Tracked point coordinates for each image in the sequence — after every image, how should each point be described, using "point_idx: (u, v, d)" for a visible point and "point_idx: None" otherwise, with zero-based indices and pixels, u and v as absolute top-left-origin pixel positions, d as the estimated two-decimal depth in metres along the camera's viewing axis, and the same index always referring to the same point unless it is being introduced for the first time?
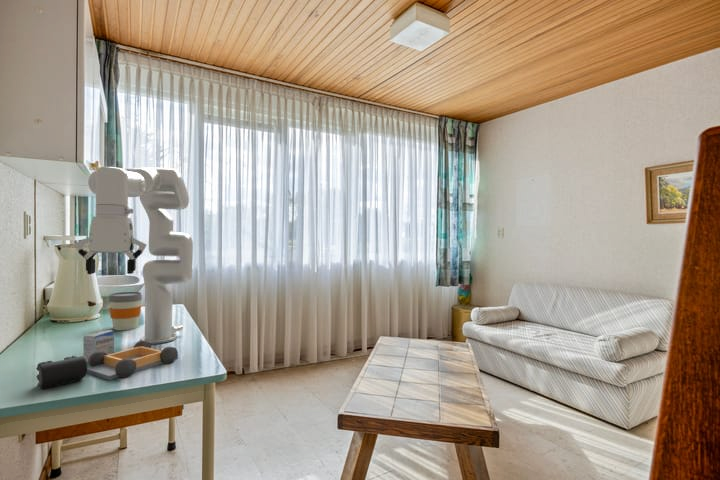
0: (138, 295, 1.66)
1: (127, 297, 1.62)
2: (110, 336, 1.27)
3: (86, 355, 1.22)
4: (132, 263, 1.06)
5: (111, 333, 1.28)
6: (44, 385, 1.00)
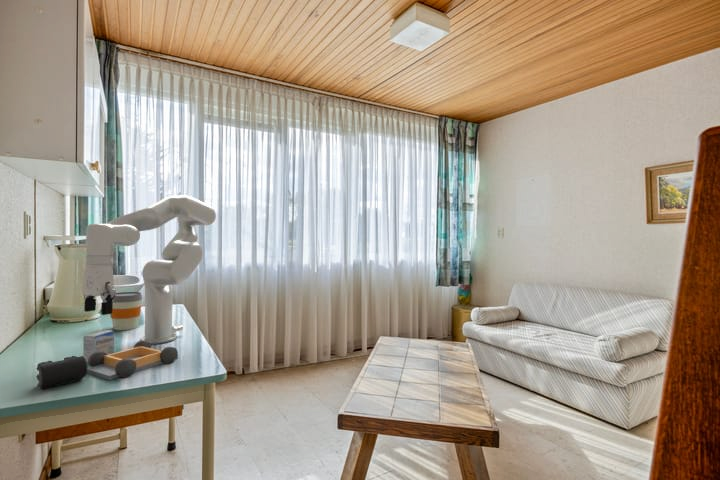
0: (138, 295, 1.66)
1: (127, 297, 1.62)
2: (110, 336, 1.27)
3: (86, 355, 1.22)
4: None
5: (111, 333, 1.28)
6: (44, 385, 1.00)
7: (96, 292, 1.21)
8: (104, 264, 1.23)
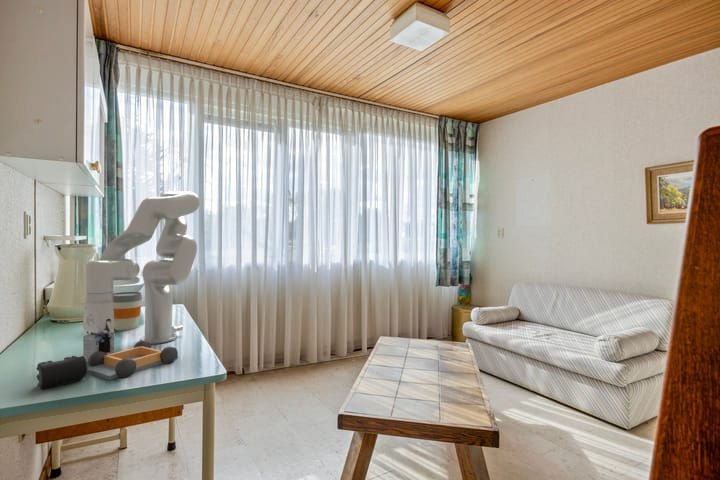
0: (138, 295, 1.66)
1: (127, 297, 1.62)
2: None
3: (86, 355, 1.22)
4: None
5: None
6: (44, 385, 1.00)
7: (97, 330, 1.21)
8: (104, 301, 1.23)
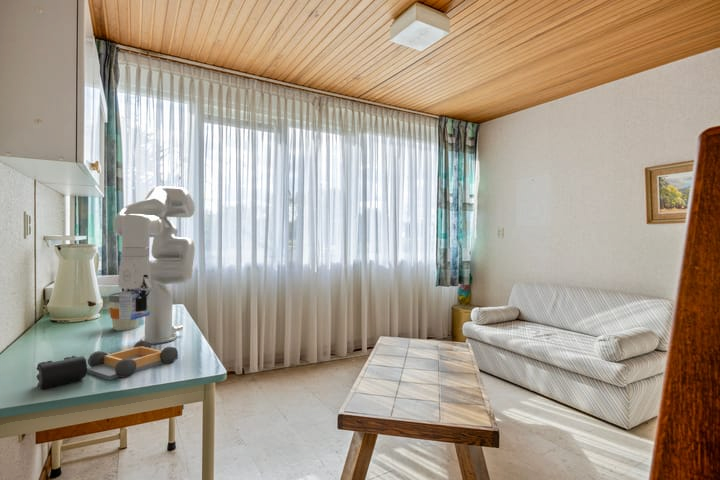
0: None
1: None
2: None
3: (122, 313, 1.16)
4: None
5: None
6: (44, 385, 1.00)
7: (134, 285, 1.16)
8: (141, 256, 1.18)
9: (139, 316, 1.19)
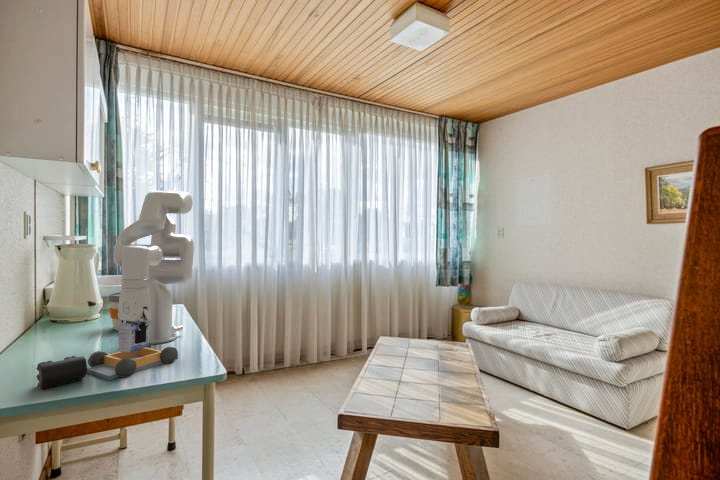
0: None
1: None
2: None
3: (121, 345, 1.16)
4: None
5: None
6: (44, 385, 1.00)
7: (133, 318, 1.16)
8: (141, 288, 1.18)
9: (138, 348, 1.19)
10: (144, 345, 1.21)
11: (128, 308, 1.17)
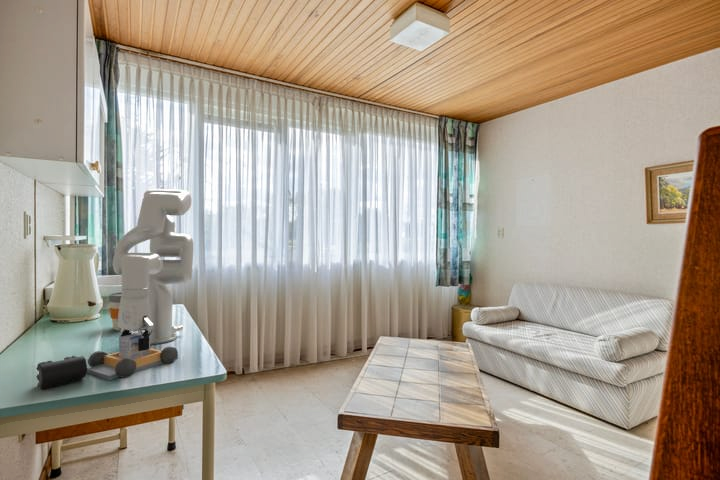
0: None
1: None
2: None
3: (121, 358, 1.17)
4: None
5: None
6: (44, 385, 1.00)
7: (133, 327, 1.16)
8: (141, 297, 1.18)
9: None
10: None
11: (128, 317, 1.17)
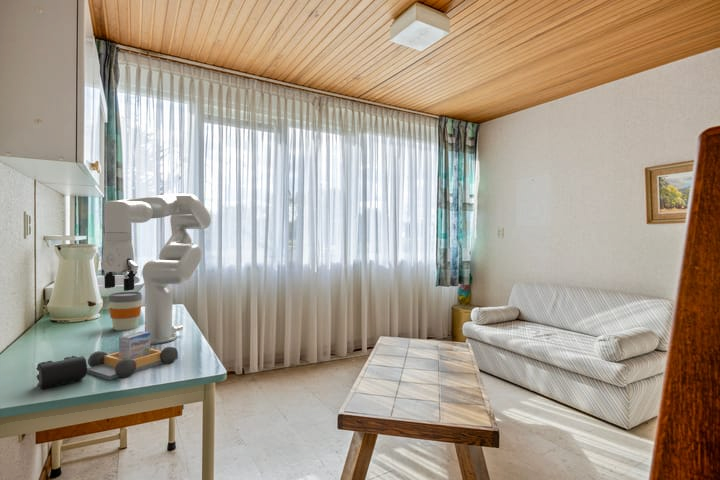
0: (138, 295, 1.66)
1: (127, 297, 1.62)
2: (146, 338, 1.21)
3: (121, 358, 1.17)
4: None
5: (147, 335, 1.22)
6: (44, 385, 1.00)
7: (118, 268, 1.22)
8: (124, 241, 1.23)
9: None
10: None
11: (112, 260, 1.23)
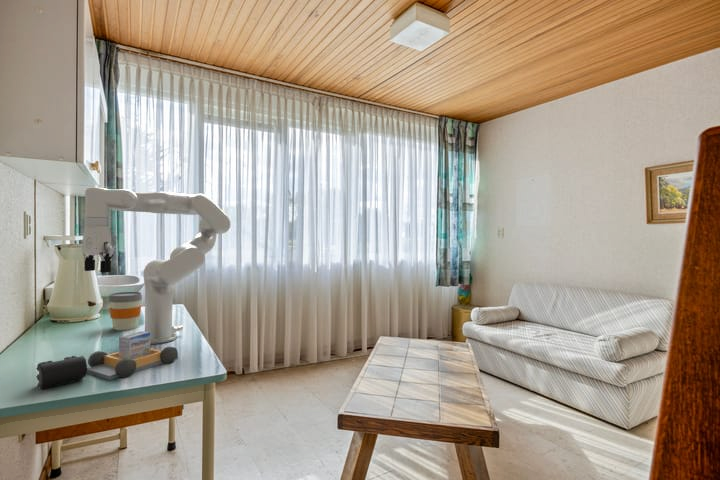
0: (138, 295, 1.66)
1: (127, 297, 1.62)
2: (146, 338, 1.21)
3: (121, 358, 1.17)
4: None
5: (147, 335, 1.22)
6: (44, 385, 1.00)
7: (95, 251, 1.29)
8: (102, 225, 1.31)
9: None
10: None
11: (90, 243, 1.30)
